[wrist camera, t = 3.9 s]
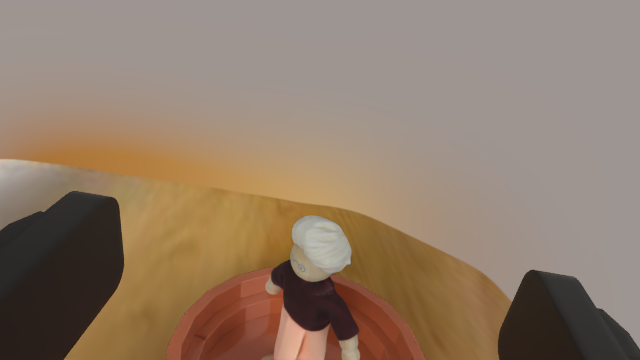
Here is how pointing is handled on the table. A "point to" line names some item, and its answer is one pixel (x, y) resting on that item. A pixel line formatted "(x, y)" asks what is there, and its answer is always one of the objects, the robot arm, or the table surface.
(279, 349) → the grandmother figurine
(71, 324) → the robot arm
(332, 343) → the terracotta plant saucer
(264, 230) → the table surface
